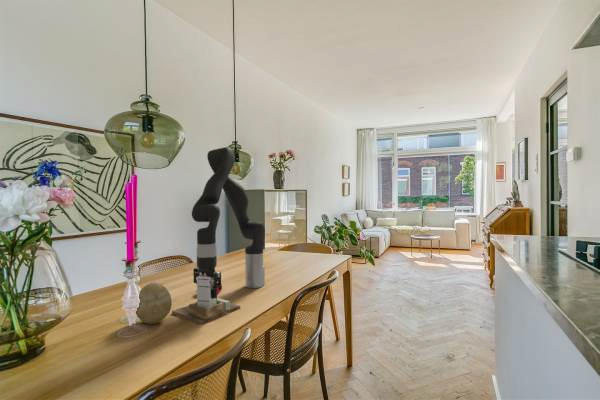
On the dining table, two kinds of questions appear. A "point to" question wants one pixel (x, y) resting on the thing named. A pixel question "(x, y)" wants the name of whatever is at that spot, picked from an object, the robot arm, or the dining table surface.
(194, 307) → the housing
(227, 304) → the bar
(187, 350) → the dining table surface
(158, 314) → the fossilized egg
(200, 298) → the syrup box
